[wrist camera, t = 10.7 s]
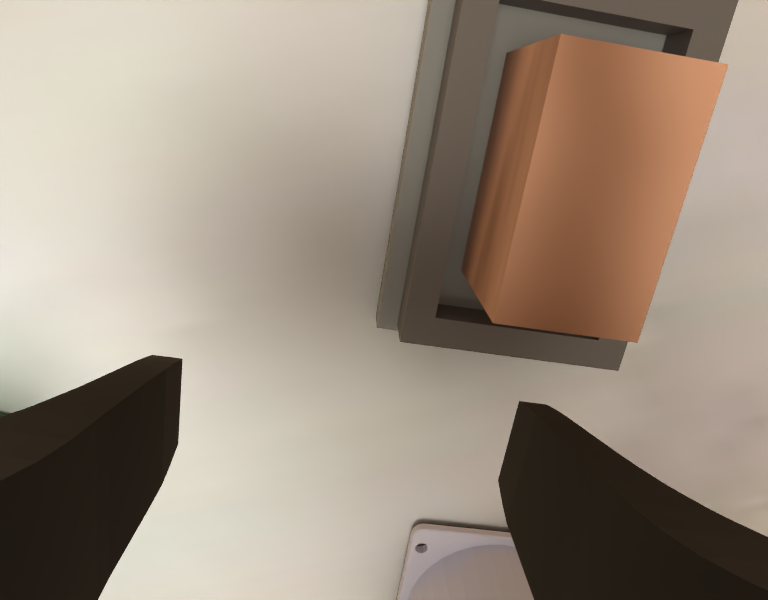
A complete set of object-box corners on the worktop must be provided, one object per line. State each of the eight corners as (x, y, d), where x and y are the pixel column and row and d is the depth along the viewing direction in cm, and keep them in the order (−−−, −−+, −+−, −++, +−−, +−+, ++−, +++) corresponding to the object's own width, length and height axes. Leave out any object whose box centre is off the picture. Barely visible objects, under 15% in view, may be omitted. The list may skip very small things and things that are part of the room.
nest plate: (604, 346, 22) (635, 378, 20) (376, 315, 21) (378, 344, 19) (708, 8, 18) (765, -7, 16) (436, -45, 17) (448, -70, 15)
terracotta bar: (630, 75, 18) (728, 64, 13) (571, 286, 20) (637, 342, 15) (506, 52, 17) (560, 33, 13) (461, 270, 20) (493, 323, 15)
